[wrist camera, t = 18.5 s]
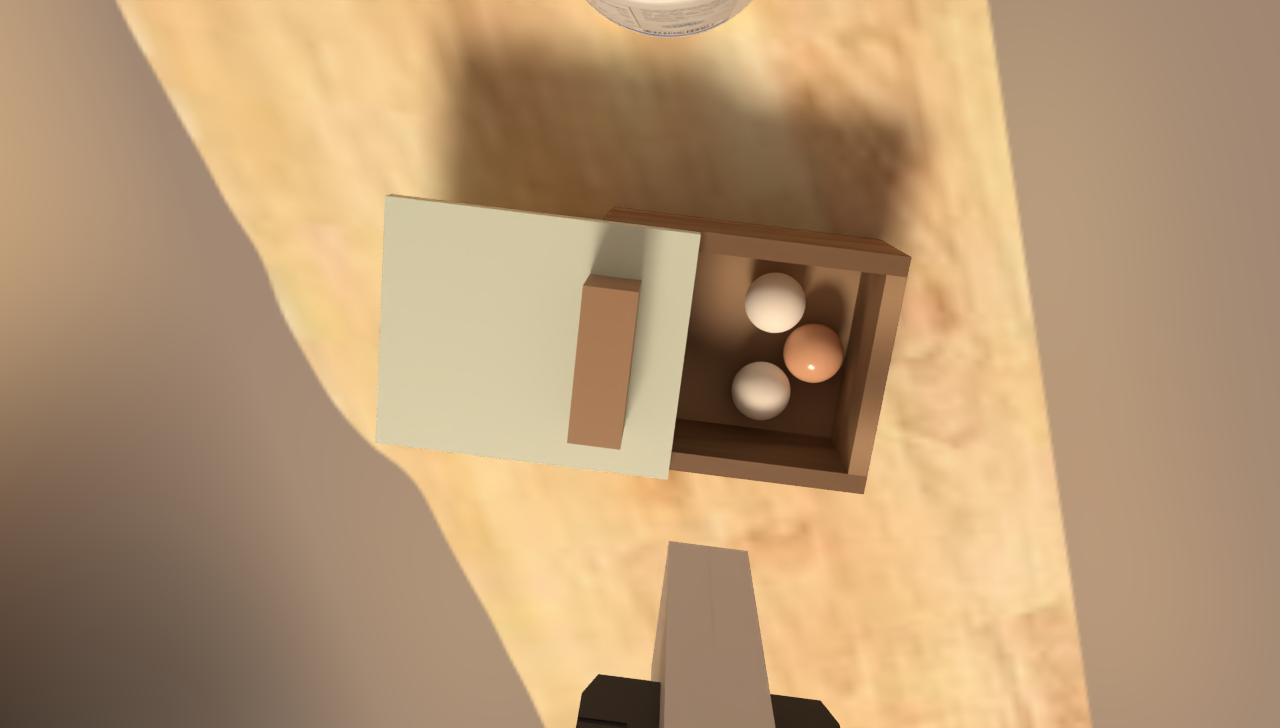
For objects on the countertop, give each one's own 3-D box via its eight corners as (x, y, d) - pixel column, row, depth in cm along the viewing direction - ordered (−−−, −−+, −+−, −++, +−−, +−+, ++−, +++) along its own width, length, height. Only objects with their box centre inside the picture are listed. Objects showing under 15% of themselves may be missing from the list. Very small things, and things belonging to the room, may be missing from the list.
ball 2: (734, 351, 40) (737, 367, 37) (791, 358, 40) (798, 374, 37) (726, 405, 40) (729, 424, 38) (782, 412, 40) (788, 431, 38)
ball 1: (747, 264, 39) (751, 274, 36) (805, 271, 39) (814, 282, 36) (738, 321, 39) (742, 335, 37) (796, 329, 39) (804, 342, 37)
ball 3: (785, 314, 39) (792, 327, 37) (842, 321, 39) (854, 335, 37) (775, 369, 40) (782, 386, 37) (832, 376, 40) (843, 393, 37)
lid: (391, 194, 34) (361, 201, 31) (700, 232, 34) (702, 243, 30) (382, 436, 36) (353, 466, 33) (667, 472, 36) (666, 505, 33)
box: (613, 207, 39) (603, 219, 34) (881, 239, 39) (911, 257, 34) (590, 418, 42) (578, 458, 37) (841, 449, 41) (863, 494, 36)
